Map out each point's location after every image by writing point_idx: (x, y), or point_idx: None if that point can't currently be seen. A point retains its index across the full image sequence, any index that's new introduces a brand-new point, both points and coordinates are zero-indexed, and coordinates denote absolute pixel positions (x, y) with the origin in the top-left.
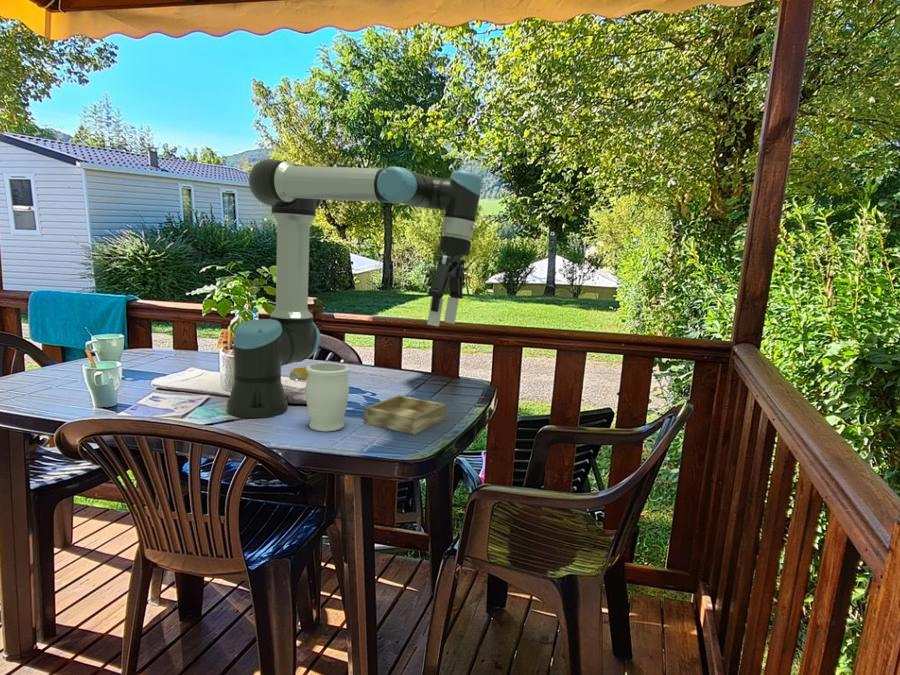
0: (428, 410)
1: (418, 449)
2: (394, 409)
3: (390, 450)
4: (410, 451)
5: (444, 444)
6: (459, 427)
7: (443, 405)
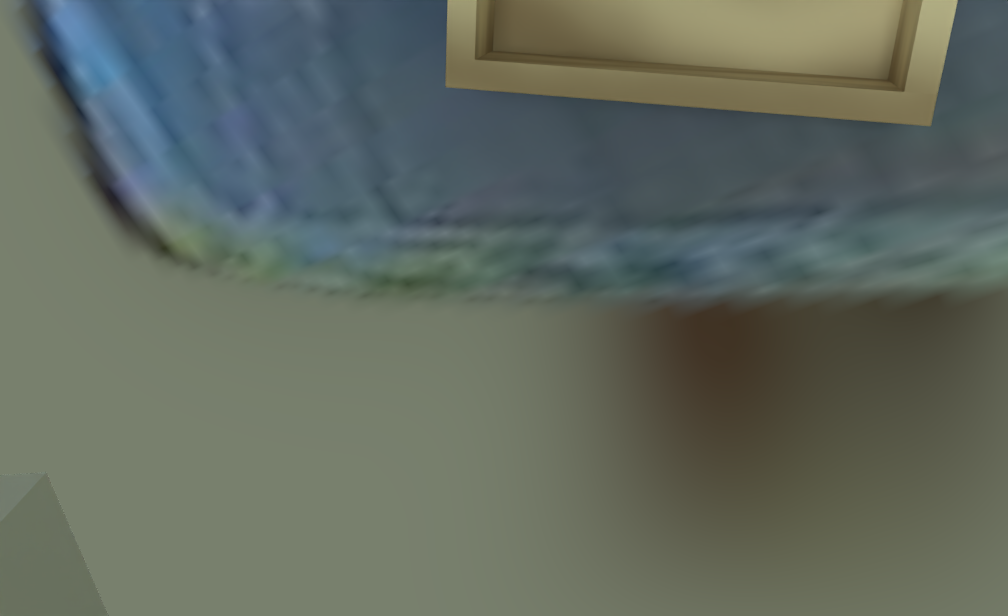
0: (684, 76)
1: (279, 200)
2: None
3: (177, 80)
4: (230, 177)
5: (425, 288)
6: (764, 258)
7: (890, 116)
